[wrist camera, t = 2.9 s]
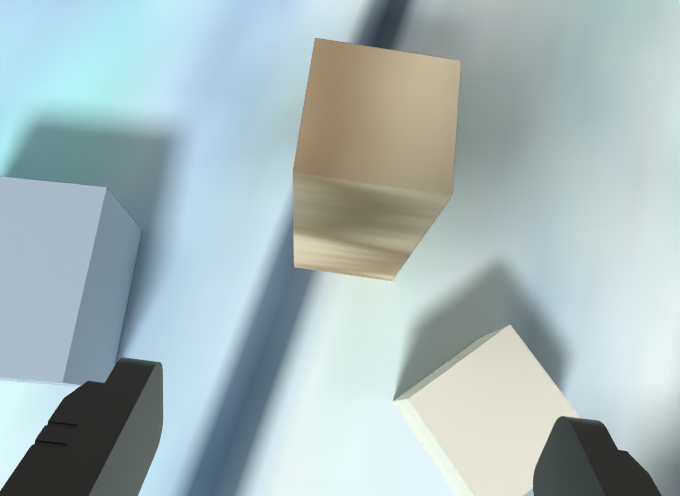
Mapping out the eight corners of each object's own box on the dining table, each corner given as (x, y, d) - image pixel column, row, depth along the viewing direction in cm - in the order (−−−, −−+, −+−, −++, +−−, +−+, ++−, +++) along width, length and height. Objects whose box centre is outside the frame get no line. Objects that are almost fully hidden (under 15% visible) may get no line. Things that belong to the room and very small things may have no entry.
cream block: (552, 433, 23) (594, 436, 20) (462, 505, 22) (491, 522, 19) (481, 336, 24) (510, 324, 21) (392, 401, 23) (408, 399, 20)
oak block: (400, 190, 26) (461, 60, 17) (391, 280, 25) (452, 195, 15) (308, 177, 26) (315, 38, 16) (294, 266, 25) (292, 171, 15)
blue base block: (142, 231, 25) (106, 187, 20) (111, 389, 23) (62, 382, 18) (-16, 215, 24) (-91, 167, 20) (-63, 375, 22) (-160, 364, 17)
